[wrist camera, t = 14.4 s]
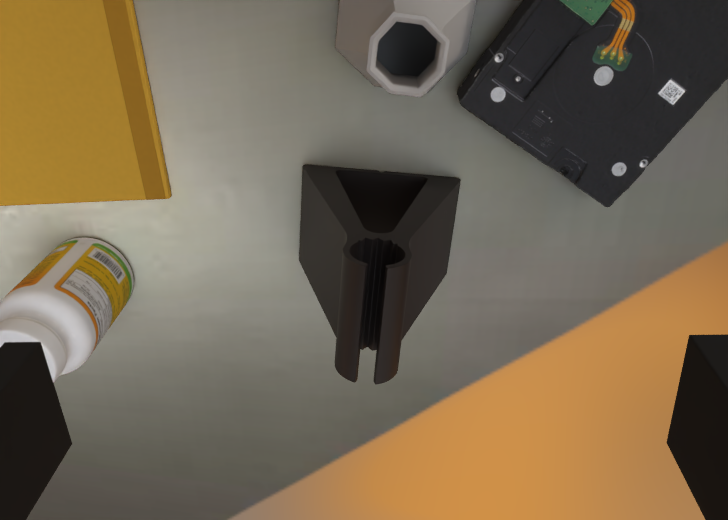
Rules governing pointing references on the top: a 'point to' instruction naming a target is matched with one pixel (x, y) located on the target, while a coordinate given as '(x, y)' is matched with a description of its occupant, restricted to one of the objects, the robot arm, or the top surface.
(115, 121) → the yellow tray
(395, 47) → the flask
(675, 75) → the disk drive
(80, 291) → the supplement bottle
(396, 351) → the phone stand
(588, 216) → the top surface
